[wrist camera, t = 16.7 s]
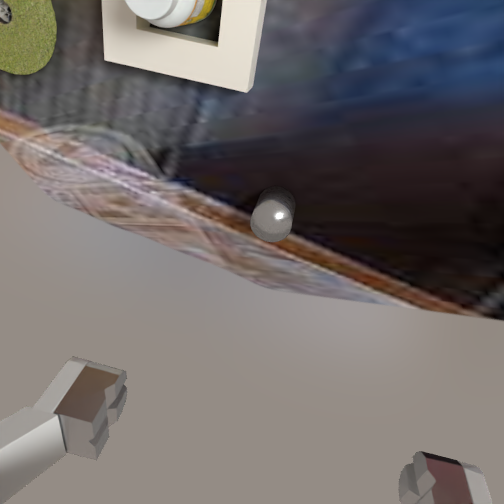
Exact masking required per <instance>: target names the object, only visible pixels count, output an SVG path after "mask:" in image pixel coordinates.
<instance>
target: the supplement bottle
mask: <svg viewBox="0 0 504 504" xmlns="http://www.w3.org/2000/svg"><path fill="white" fill-rule="evenodd" d="M216 1H217V0H125V2H126V4H127V5H128V7H129V8H130V9H131V10H132V11H133V12H134V13H135V14H136V15H138V16H139V17H141V18H144V19H146V20H147V21H148V22H150V23H151V24H153V25H156V26H158V27H163V28H171V27H177V26H182V25H186V24H192V23H196V22H199V21H201V20H203V19H205V18H206V17H208V16H209V15H210V13H211V12H212V11H213V9H214V7H215V4H216Z"/></svg>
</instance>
